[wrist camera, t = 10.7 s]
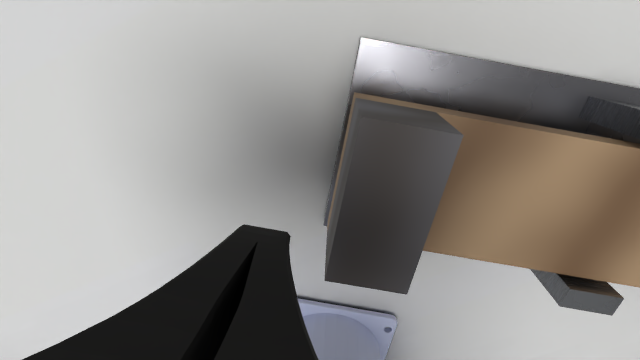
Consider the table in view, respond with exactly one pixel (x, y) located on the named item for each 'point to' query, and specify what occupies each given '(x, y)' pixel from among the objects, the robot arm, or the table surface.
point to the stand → (502, 117)
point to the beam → (478, 196)
